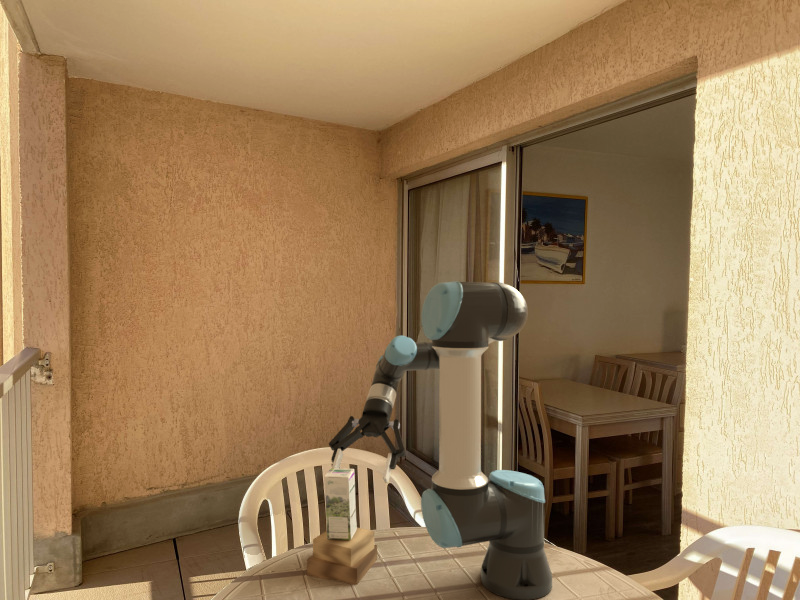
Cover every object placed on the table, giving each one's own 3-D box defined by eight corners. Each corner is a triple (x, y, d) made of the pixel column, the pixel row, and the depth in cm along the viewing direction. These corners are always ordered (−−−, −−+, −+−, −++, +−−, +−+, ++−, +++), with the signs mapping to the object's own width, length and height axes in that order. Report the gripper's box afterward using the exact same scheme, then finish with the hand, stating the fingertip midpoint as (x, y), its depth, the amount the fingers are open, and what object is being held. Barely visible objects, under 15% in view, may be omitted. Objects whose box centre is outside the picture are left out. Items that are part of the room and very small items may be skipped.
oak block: (374, 548, 131) (374, 531, 131) (350, 567, 122) (350, 548, 122) (338, 539, 135) (338, 523, 135) (313, 557, 126) (312, 539, 126)
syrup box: (357, 529, 131) (354, 467, 131) (351, 541, 125) (348, 476, 125) (333, 528, 132) (331, 467, 131) (326, 540, 126) (323, 475, 126)
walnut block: (377, 561, 133) (377, 544, 133) (357, 586, 121) (357, 568, 121) (330, 554, 136) (330, 537, 136) (307, 578, 125) (306, 560, 125)
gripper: (426, 415, 151) (410, 490, 137) (340, 410, 159) (317, 480, 144) (421, 399, 146) (404, 474, 132) (332, 394, 154) (307, 465, 139)
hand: (358, 477), depth 138 cm, fingers open, 13 cm apart
